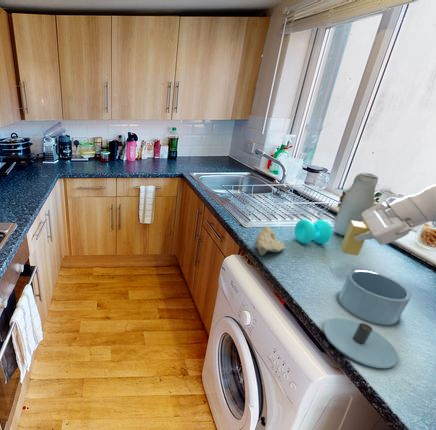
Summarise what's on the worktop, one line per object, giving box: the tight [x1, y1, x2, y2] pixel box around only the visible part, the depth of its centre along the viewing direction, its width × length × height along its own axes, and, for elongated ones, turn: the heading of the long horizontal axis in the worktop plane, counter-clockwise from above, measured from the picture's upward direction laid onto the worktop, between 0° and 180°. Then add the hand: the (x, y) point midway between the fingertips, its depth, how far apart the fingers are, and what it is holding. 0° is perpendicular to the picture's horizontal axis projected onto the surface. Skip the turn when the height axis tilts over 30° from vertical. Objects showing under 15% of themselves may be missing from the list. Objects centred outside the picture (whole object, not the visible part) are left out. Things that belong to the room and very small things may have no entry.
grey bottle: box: [333, 172, 379, 237], centre depth 120 cm, size 10×10×28 cm
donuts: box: [294, 218, 333, 245], centre depth 118 cm, size 10×10×10 cm
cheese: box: [254, 226, 286, 256], centre depth 111 cm, size 15×7×15 cm
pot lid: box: [322, 318, 399, 369], centre depth 71 cm, size 15×15×6 cm
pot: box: [338, 269, 412, 326], centre depth 83 cm, size 14×14×8 cm
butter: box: [340, 220, 369, 257], centre depth 94 cm, size 4×5×10 cm
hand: (353, 234), depth 94 cm, fingers closed on butter, 5 cm apart
